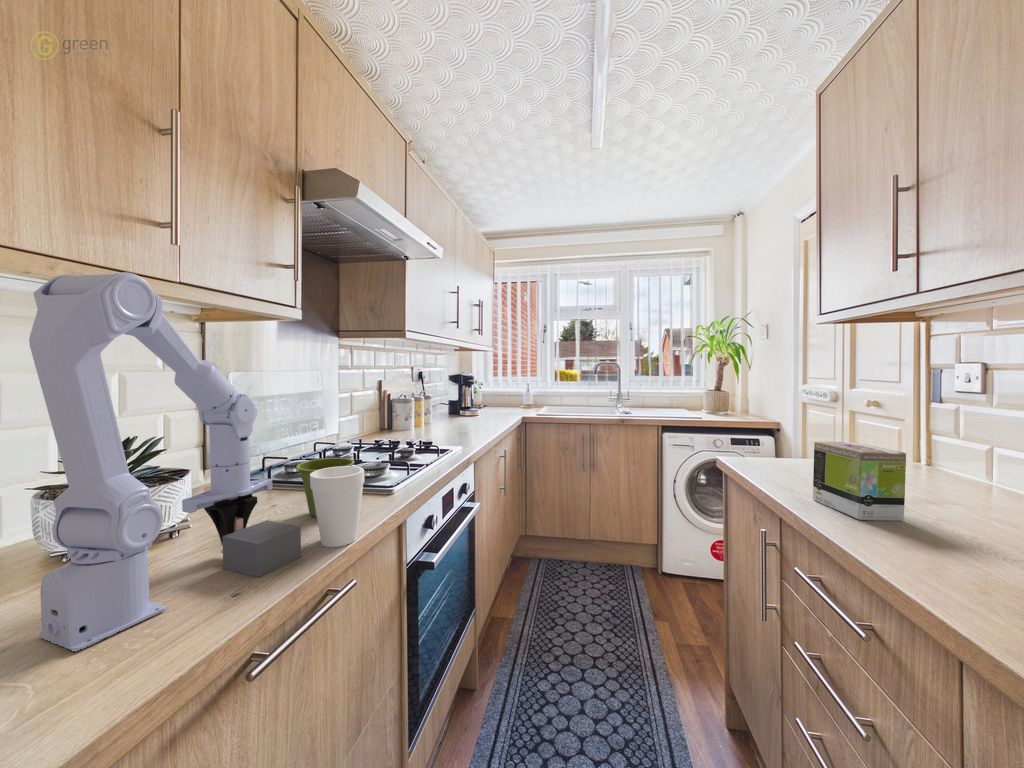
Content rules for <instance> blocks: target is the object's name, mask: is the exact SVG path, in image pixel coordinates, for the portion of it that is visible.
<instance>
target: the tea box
mask: <svg viewBox="0 0 1024 768" xmlns="http://www.w3.org/2000/svg"><path fill="white" fill-rule="evenodd" d="M906 469H907V453H906V452H903V451H900V450H899V451H896V450H893V449H889V448H883V447H879V446H874V445H869V444H863V443H857V442H854V441H851V442H849V441H815V442H814V446H813V474H812V475H813V477H812V479H813V480H812V500H814V501H816V502H818V503H821V504H822V505H825V506H827V507H829V508H831V509H835V510H836V511H838V512H840V513H844V514H846V515H847V516H850V517H853V518H855V519H857V520H860V521H884V522H885V521H889V522H890V521H893V522H894V521H895V522H896V521H898V522H900V521H903V520H904V519H905V518H904V517H905V503H906V501H905V500H906V499H905V498H906V497H905V496H906Z"/></svg>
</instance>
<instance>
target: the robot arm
mask: <svg viewBox="0 0 1024 768" xmlns="http://www.w3.org/2000/svg"><path fill="white" fill-rule="evenodd" d="M33 297H34V301H35V303H36V308H37V310H36V315H35V317H34V321H33V324H32V328H31V330H30V334H29V339H28V341H29V349H30V352H31V356H32V360H33V362H34V367H35V370H36V373H37V377H38V380H39V384H40V388H41V391H42V395H43V398H44V402H45V407H46V409H47V413H48V416H49V417H48V418H49V420H50V423H51V427H52V431H53V434H54V439H55V441H56V442H55V443H56V446H57V448H58V453H59V456H60V459H61V463H62V467H63V471H64V474H65V478H66V481H67V484H68V488H66V489H65V490H64V491H63V492H61V493H60V494H59V495H58V496H57V497H56V498H55V499H54V500H53V506H54V508H55V518H54V521H53V525H52V537H53V539H54V541H55V542H56V543H57V544H58V545H59V546H60V547H62V548H64V549H66V556H67V558H70V561H68V562H66V563H65V564H64V565H62V566H61V567H58V568H55V569H54V570H51V571H48V572H47V573H45V574H44V575H43V577H42V579H41V583H40V590H39V591H40V611H41V613H40V614H41V631H40V633H39V634H38V637H39V638H40V637H41V638H40V639H42V638H43V640H45V641H47V640H48V642H49V641H51V642H50V643H52V644H54V643H55V644H54V645H56V644H58V645H57V646H59V645H60V646H59V647H61V646H63V647H65V648H64V649H66V648H68V649H70V650H73V651H74V650H75V652H77V651H76V650H79V651H81V650H83V649H86V648H88V647H89V646H92V645H94V644H97V643H99V642H100V641H103V640H105V639H106V637H107V638H109V637H111V636H114V635H115V634H117V632H118V633H119V631H120V632H121V631H124V630H125V629H128V628H130V627H133V626H135V625H136V624H139V623H141V622H143V621H145V620H147V619H149V618H152V617H153V616H156V615H158V614H160V613H162V612H164V611H165V610H167V607H166V605H164V604H161V603H157V602H154V601H150V580H149V579H150V577H149V549H150V548H152V547H153V542H154V541H155V540H156V538H158V536H159V534H160V532H161V530H162V527H163V523H164V515H163V510H162V509H161V507H160V506H159V505H158V504H157V503H156V502H155V501H154V499H153V498H152V495H151V493H150V489H149V488H148V486H146V485H145V483H143V482H141V481H140V480H139V479H138V478H136V477H134V476H133V474H131V473H130V470H129V467H128V463H127V458H126V454H125V450H124V446H123V443H122V439H121V437H122V436H121V433H120V430H119V426H118V422H117V417H116V413H115V410H114V405H113V400H112V395H111V393H110V388H109V384H108V380H107V376H106V373H105V372H106V371H105V368H104V364H103V360H102V355H101V354H102V352H103V350H105V348H107V347H108V346H109V345H110V344H111V343H112V342H113V341H114V340H115V339H116V338H118V337H120V336H122V335H127V336H132V337H134V338H136V339H137V340H138V341H139V342H140V343H141V344H142V345H143V346H144V347H145V348H147V349H148V350H149V351H150V352H151V353H153V354H154V355H155V356H156V357H157V358H159V360H160V361H162V362H163V363H164V364H165V365H166V366H167V367H169V368H170V369H171V370H172V371H173V372H175V374H174V385H176V387H177V388H179V390H180V391H181V392H182V393H184V394H185V396H187V397H188V398H189V399H190V400H191V401H192V402H193V403H194V404H195V405H196V406H195V408H196V409H197V410H198V415H199V416H198V417H199V419H200V421H201V423H203V424H204V425H206V426H208V430H209V433H208V434H209V469H210V470H209V473H210V489H209V490H206V491H204V492H201V493H199V494H196V495H194V496H193V495H192V496H191V497H188V498H184V499H182V500H181V503H182V504H181V507H182V509H181V510H182V512H183V513H188V514H193V513H196V512H197V511H198V510H202V509H203V510H204V512H206V514H207V515H208V516H209V517H210V519H211V521H212V522H213V524H214V526H215V529H216V530H217V533H218V535H219V539H220V540H219V541H220V544H221V543H223V538H222V536H225V535H228V534H231V533H233V532H234V521H235V517H239V518H243V529H244V528H247V526H248V525H247V524H248V522H249V519H250V516H251V514H252V512H253V510H254V509H255V507H256V505H257V504H258V496H253V495H254V494H256V493H260V492H264V491H270V490H273V479H272V478H268V477H267V478H266V477H264V478H260V479H255V480H251V461H250V460H251V457H250V454H251V453H250V436H251V435H252V433H253V426H254V422H255V420H256V418H257V416H258V415H257V414H258V408H257V407H256V403H255V402H254V401H253V399H252V398H250V397H249V396H248V395H247V394H243V393H239V392H238V391H237V389H236V388H235V386H233V384H231V383H230V382H229V380H228V379H227V378H226V377H225V376H224V374H223V373H222V372H221V371H220V370H219V369H220V368H219V366H218V365H217V363H215V362H211V361H210V360H206V359H198V357H197V356H196V355H195V354H194V352H193V351H192V349H191V348H190V347H189V345H188V344H187V343H186V341H185V340H184V339H183V338H182V336H181V335H180V334H179V333H178V331H177V330H176V328H175V327H174V325H172V324H171V322H170V321H169V319H168V318H167V317H166V315H165V314H164V313H163V308H164V306H163V305H164V304H163V299H162V298H161V297H160V296H159V295H158V294H156V292H154V290H153V288H152V286H151V284H149V283H148V282H147V281H146V280H145V279H144V278H143V277H141V276H139V275H137V274H135V273H131V272H128V271H127V272H126V271H125V272H123V271H122V272H116V273H109V274H108V273H105V274H79V275H78V274H60V275H56V276H54V277H52V278H50V279H49V280H48V281H47V282H45V283H43V284H42V285H41V286H40V287H38V289H36V290H35V291H34V292H33ZM104 638H105V639H104ZM102 639H103V640H102ZM87 646H88V647H87ZM63 647H62V648H63ZM68 649H67V650H68ZM80 649H81V650H80ZM70 650H69V651H70ZM73 651H72V652H73Z"/></svg>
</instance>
